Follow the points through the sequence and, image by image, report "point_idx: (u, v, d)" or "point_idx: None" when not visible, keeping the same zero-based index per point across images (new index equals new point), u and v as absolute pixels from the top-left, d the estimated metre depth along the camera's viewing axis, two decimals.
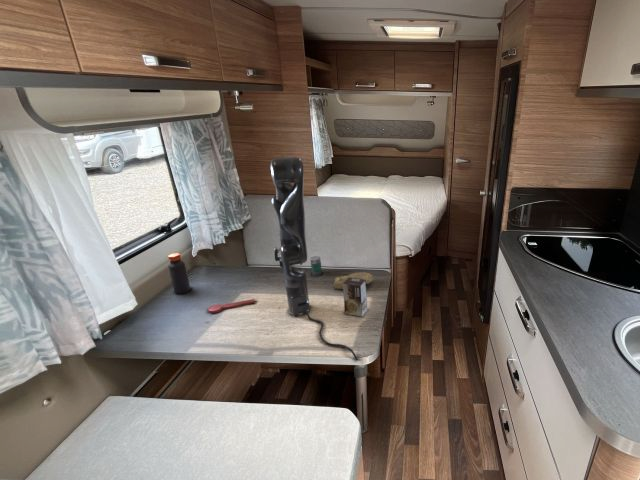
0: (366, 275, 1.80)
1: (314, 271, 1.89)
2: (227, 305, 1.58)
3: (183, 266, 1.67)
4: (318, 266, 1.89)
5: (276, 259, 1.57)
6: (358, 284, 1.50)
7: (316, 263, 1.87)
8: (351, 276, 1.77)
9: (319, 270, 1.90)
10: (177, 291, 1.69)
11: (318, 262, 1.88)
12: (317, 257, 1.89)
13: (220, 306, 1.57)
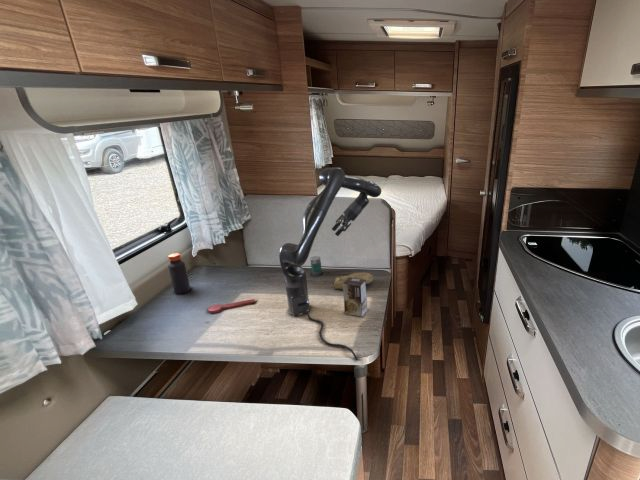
0: (366, 275, 1.80)
1: (314, 271, 1.89)
2: (227, 305, 1.58)
3: (183, 266, 1.67)
4: (318, 266, 1.89)
5: (336, 220, 1.94)
6: (358, 284, 1.50)
7: (316, 263, 1.87)
8: (351, 276, 1.77)
9: (319, 270, 1.90)
10: (177, 291, 1.69)
11: (318, 262, 1.88)
12: (317, 257, 1.89)
13: (220, 306, 1.57)
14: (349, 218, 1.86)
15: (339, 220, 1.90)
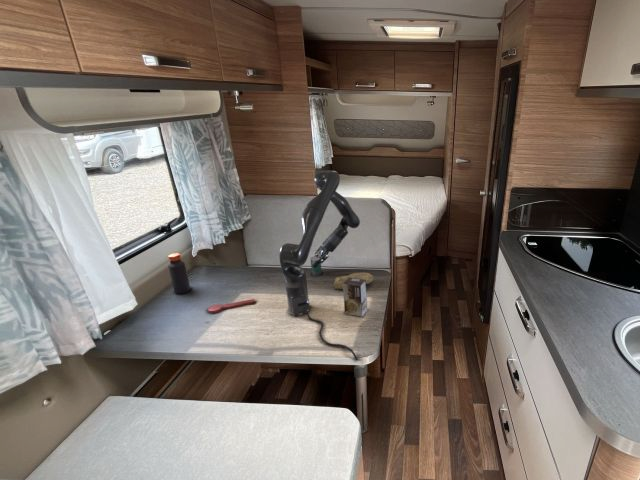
0: (366, 275, 1.80)
1: (314, 271, 1.89)
2: (227, 305, 1.58)
3: (183, 266, 1.67)
4: (318, 266, 1.89)
5: (315, 252, 1.93)
6: (358, 284, 1.50)
7: None
8: (351, 276, 1.77)
9: (319, 270, 1.90)
10: (177, 291, 1.69)
11: None
12: (317, 257, 1.90)
13: (220, 306, 1.57)
14: (328, 250, 1.87)
15: (318, 252, 1.90)
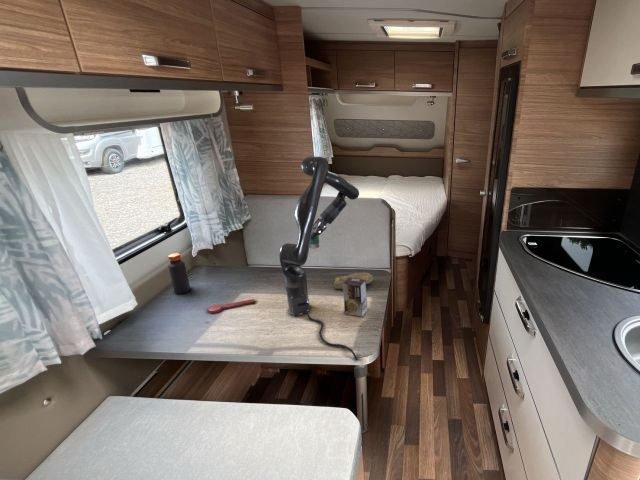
0: (366, 275, 1.80)
1: (311, 243, 1.83)
2: (227, 305, 1.58)
3: (183, 266, 1.67)
4: (316, 238, 1.83)
5: (313, 225, 1.88)
6: (358, 284, 1.50)
7: None
8: (351, 276, 1.77)
9: (317, 242, 1.84)
10: (177, 291, 1.69)
11: None
12: (315, 229, 1.84)
13: (220, 306, 1.57)
14: (325, 221, 1.81)
15: (316, 223, 1.84)
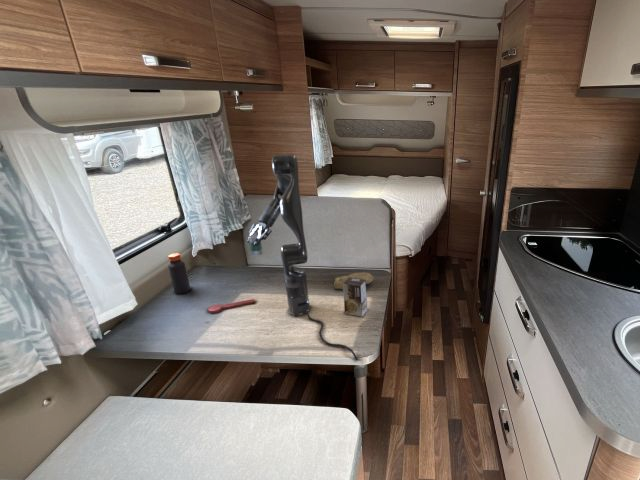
0: (366, 275, 1.80)
1: (255, 250, 1.73)
2: (227, 305, 1.58)
3: (183, 266, 1.67)
4: (259, 244, 1.74)
5: (249, 232, 1.77)
6: (358, 284, 1.50)
7: None
8: (351, 276, 1.77)
9: (261, 248, 1.75)
10: (177, 291, 1.69)
11: None
12: (255, 235, 1.74)
13: (220, 306, 1.57)
14: (268, 224, 1.75)
15: (255, 229, 1.75)
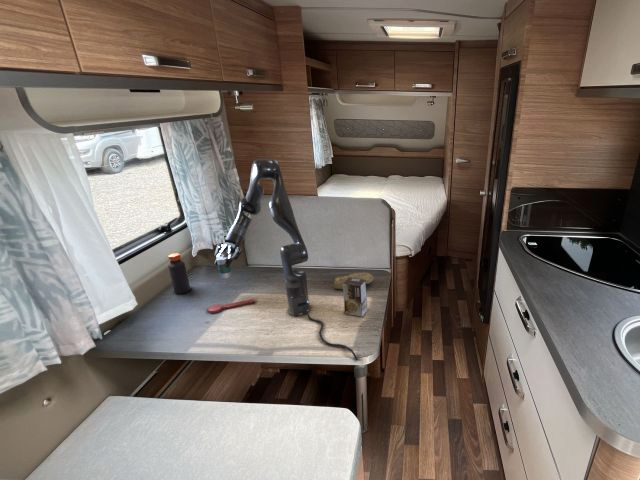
0: (366, 275, 1.80)
1: (226, 272, 1.63)
2: (227, 305, 1.58)
3: (183, 266, 1.67)
4: None
5: (215, 253, 1.64)
6: (358, 284, 1.50)
7: None
8: (351, 276, 1.76)
9: (231, 270, 1.65)
10: (177, 291, 1.69)
11: None
12: (224, 256, 1.63)
13: (220, 306, 1.57)
14: (237, 243, 1.65)
15: (222, 250, 1.64)
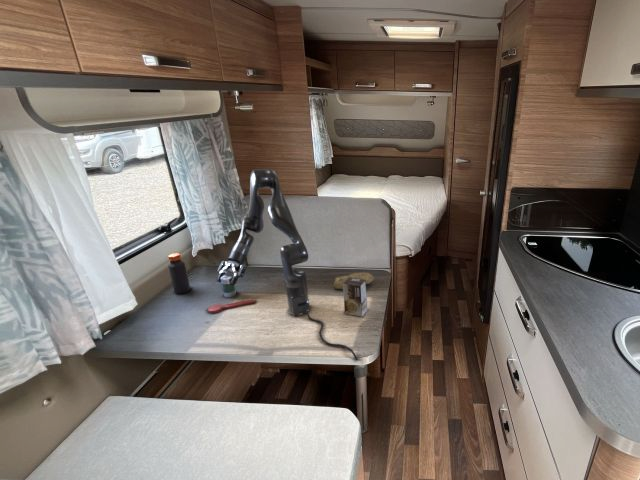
0: (366, 275, 1.80)
1: (230, 291, 1.66)
2: (227, 305, 1.58)
3: (183, 266, 1.67)
4: None
5: (218, 270, 1.68)
6: (358, 284, 1.50)
7: None
8: (351, 276, 1.76)
9: (234, 289, 1.69)
10: (177, 291, 1.69)
11: None
12: (228, 275, 1.67)
13: (220, 306, 1.57)
14: (241, 262, 1.69)
15: (225, 268, 1.67)
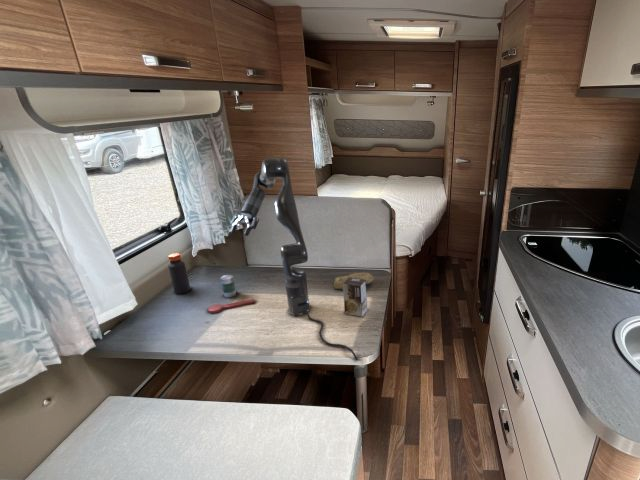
0: (366, 275, 1.80)
1: (230, 291, 1.66)
2: (227, 305, 1.58)
3: (183, 266, 1.67)
4: (233, 284, 1.68)
5: (231, 222, 1.73)
6: (358, 284, 1.50)
7: (231, 282, 1.66)
8: (351, 276, 1.76)
9: (234, 289, 1.69)
10: (177, 291, 1.69)
11: (232, 280, 1.67)
12: (228, 275, 1.67)
13: (220, 306, 1.57)
14: (253, 214, 1.73)
15: (238, 220, 1.72)
